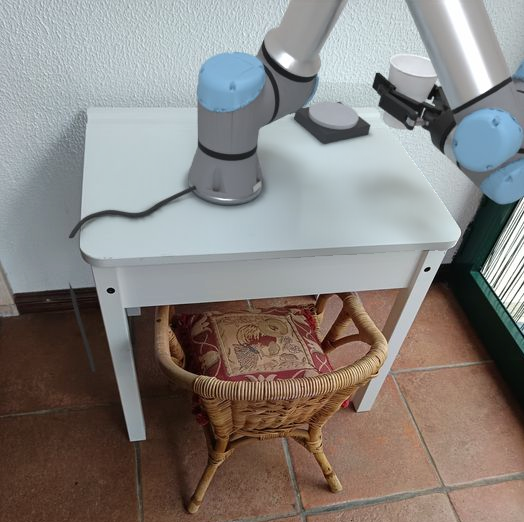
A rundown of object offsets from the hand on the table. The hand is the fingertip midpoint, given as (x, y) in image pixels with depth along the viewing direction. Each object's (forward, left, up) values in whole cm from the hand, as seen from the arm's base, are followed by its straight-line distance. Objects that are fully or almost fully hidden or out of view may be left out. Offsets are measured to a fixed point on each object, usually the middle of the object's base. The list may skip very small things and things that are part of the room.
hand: (395, 78), depth 96 cm
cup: (-1, -5, -7) cm, 8 cm away
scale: (+4, +20, -20) cm, 28 cm away
